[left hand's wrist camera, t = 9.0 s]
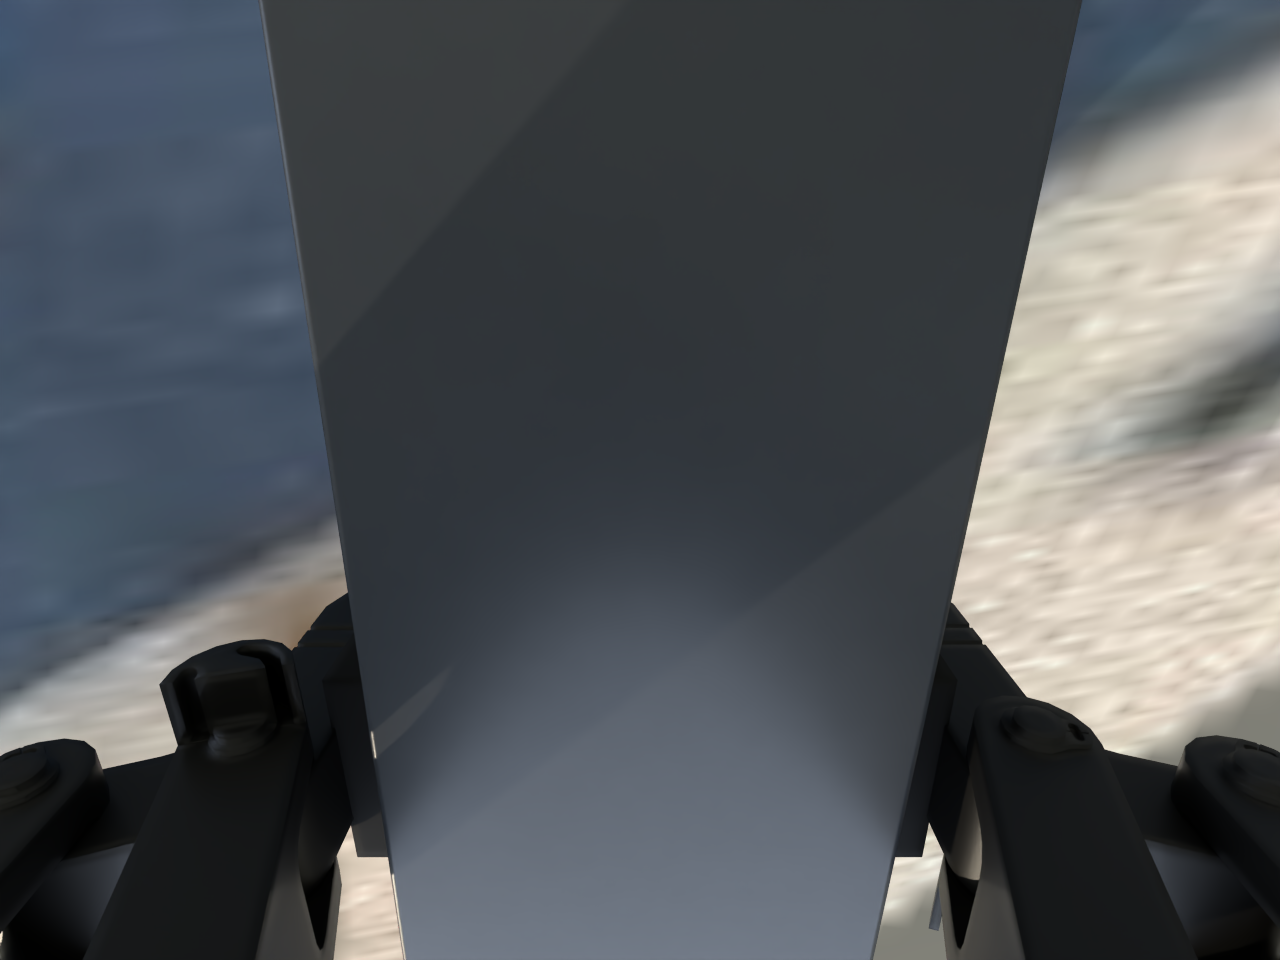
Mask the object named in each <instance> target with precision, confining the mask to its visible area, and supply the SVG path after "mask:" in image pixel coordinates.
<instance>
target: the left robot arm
mask: <svg viewBox="0 0 1280 960" xmlns="http://www.w3.org/2000/svg"><path fill="white" fill-rule="evenodd" d="M160 689H161V692H162V695H163V698H164V702H165V705H166V708H167V711H168V715H169V718H170V721H171V724H172V728H173V731H174V734H175V738H176V741H177V744H178V747H177V749H176V751H175V753H172V754H168V755H165V756H161V757H157V758H152V759H148V760H143V761H139V762H134V763H129V764H125V765H120V766H116V767H111V768H106V769H102V767H101V764H100V761H99V759H98V756H97V753H96V750H95V749H94V748H93V747H91V746H90V745H89V744H87V743H86V742H85V741H80V740H72V739H58V740H51V741H45V742H38V743H35V744H31V745H27V746H24V747H23V748H18V749H15V750H12V751H10V752H7V753H5V754H3V755H2V756H0V960H333V959H334V950H335V941H336V932H337V923H338V914H339V905H340V896H341V887H342V883H341V876H340V869H339V865H338V860H337V854H338V852H339V849H340V847H341V845H342V843H343V841H344V839H345V837H346V834H347V832H348V830H349V828H350V826H351V827H352V832H353V837H354V842H355V847H356V852H357V857H388V853H387V847H386V840H385V833H384V827H383V820H382V814H381V807H380V800H379V794H378V787H377V780H376V774H375V767H374V761H373V754H372V747H371V741H370V734H369V728H368V721H367V714H366V708H365V701H364V695H363V688H362V681H361V675H360V668H359V662H358V655H357V648H356V642H355V635H354V629H353V622H352V615H351V609H350V602H349V595H348V593H346V594H345V595H343V596H342V597H340V598H339V599H337V600H336V601H334V602H333V603H331V604H330V605H328V606H326V608H325V609H324V610H323V611H322V613H321V614H320V615H319V617H318V618H317V619H316V620H315V622H314V623H313V624H312V626H311V630H308V631H307V632H306V633H305V635H304V636H303V637H302V638H301V640H300V641H299V642H298V647H294V649H293V650H292V651H291V650H290V649H289V648H287V647H286V646H285V645H284V644H282V643H280V642H275V641H270V640H265V639H259V640H241V641H237V642H233V643H228V644H224V645H220V646H216V647H214V648H211V649H209V650H207V651H204V652H202V653H200V654H197V655H195V656H192V657H191V658H189V659H188V660H186V661H185V662H183V663H182V664H180V665H179V666H177V667H176V668H174V669H173V670H172V671H171V672H170V673H169V674H168V675H167V676H166V678H165V679H164V680H163V681H162V682H161V683H160ZM929 823H930V825H931V827H932V830H933V832H934V834H935V836H936V838H937V840H938V842H939V844H940V847H941V849H942V851H943V853H944V855H943V860H942V865H941V869H940V874H939V879H938V883H937V888H936V892H935V897H934V902H933V906H932V911H931V917H930V924H929V929H933V930H937V931H938V930H939V926H940V922H941V917H942V921H943V930H944V939H945V947H946V957H947V960H1280V752H1278V751H1276V750H1274V749H1272V748H1269V747H1266V746H1264V745H1259V744H1257V743H1254V742H1250V741H1247V740H1243V739H1237V738H1231V737H1224V736H1217V735H1215V736H1207V737H1199V738H1195V739H1194V740H1193V741H1192V742H1190V743H1189V744H1188V745H1186V746H1185V749H1184V751H1183V754H1182V757H1181V760H1180V762H1179V765H1178V766H1174V765H1170V764H1165V763H1160V762H1156V761H1151V760H1146V759H1142V758H1137V757H1133V756H1128V755H1123V754H1119V753H1115V752H1112V751H1108V750H1105V749H1104V748H1103V745H1102V744H1101V742H1100V741H1099V740H1098V738H1097V737H1096V736H1095V734H1094V733H1093V731H1092V730H1091V729H1090V728H1089V727H1088V726H1086V725H1085V724H1084V723H1082V722H1081V721H1080V720H1078V719H1077V718H1076V717H1075V716H1073V715H1072V714H1070V713H1068V712H1066V711H1064V710H1062V709H1060V708H1058V707H1056V706H1053V705H1051V704H1049V703H1046V702H1042V701H1039V700H1035V699H1031V698H1028V697H1026V696H1025V694H1024V693H1023V692H1022V690H1021V689H1020V688H1019V687H1018V685H1017V684H1016V683H1015V682H1014V680H1013V679H1012V678H1011V676H1010V675H1009V674H1008V673H1007V671H1006V670H1005V669H1004V668H1003V666H1002V665H1001V664H1000V662H999V661H998V660H997V659H996V657H995V656H994V655H993V654H992V652H991V651H990V650H989V648H988V647H987V646H986V645H983V644H982V640H981V638H980V637H979V636H978V635H977V633H976V632H975V631H974V629H973V628H969V623H968V622H967V621H966V619H965V618H964V617H963V615H962V614H961V613H960V612H959V610H958V609H957V608H956V607H955V605H954V604H953V603H951V604H950V608H949V613H948V617H947V622H946V626H945V631H944V636H943V640H942V645H941V649H940V654H939V659H938V663H937V668H936V672H935V677H934V681H933V686H932V691H931V695H930V700H929V704H928V709H927V713H926V718H925V723H924V727H923V732H922V736H921V741H920V746H919V750H918V755H917V759H916V764H915V768H914V773H913V778H912V782H911V787H910V791H909V796H908V801H907V805H906V810H905V814H904V819H903V823H902V828H901V833H900V837H899V842H898V846H897V851H896V856H895V857H922V855H923V850H924V845H925V840H926V835H927V830H928V825H929Z"/></svg>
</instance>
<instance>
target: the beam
mask: <svg viewBox="0 0 1280 960" xmlns="http://www.w3.org/2000/svg"><path fill="white" fill-rule="evenodd" d="M258 1H259V7H260V14H261V21H262V27H263V34H264V40H265V47H266V54H267V60H268V67H269V74H270V80H271V87H272V93H273V100H274V107H275V113H276V120H277V126H278V133H279V140H280V146H281V153H282V159H283V166H284V173H285V179H286V186H287V192H288V199H289V206H290V212H291V219H292V225H293V232H294V239H295V245H296V252H297V259H298V265H299V272H300V278H301V285H302V292H303V298H304V305H305V311H306V318H307V325H308V331H309V338H310V344H311V351H312V358H313V364H314V371H315V377H316V384H317V391H318V397H319V404H320V410H321V417H322V424H323V430H324V437H325V444H326V450H327V457H328V463H329V470H330V477H331V483H332V490H333V496H334V503H335V510H336V516H337V523H338V529H339V536H340V543H341V549H342V556H343V562H344V569H345V576H346V582H347V589H348V595H349V602H350V609H351V615H352V622H353V629H354V635H355V642H356V648H357V655H358V662H359V668H360V675H361V681H362V688H363V695H364V701H365V708H366V714H367V721H368V728H369V734H370V741H371V747H372V754H373V761H374V767H375V774H376V780H377V787H378V794H379V800H380V807H381V814H382V820H383V827H384V833H385V840H386V847H387V853H388V860H389V866H390V873H391V880H392V886H393V893H394V899H395V906H396V913H397V919H398V926H399V932H400V939H401V946H402V952H403V959H404V960H873V956H874V952H875V947H876V943H877V938H878V933H879V929H880V924H881V920H882V915H883V910H884V906H885V901H886V897H887V892H888V888H889V883H890V878H891V874H892V869H893V865H894V860H895V856H896V851H897V846H898V842H899V837H900V833H901V828H902V823H903V819H904V814H905V810H906V805H907V801H908V796H909V791H910V787H911V782H912V778H913V773H914V768H915V764H916V759H917V755H918V750H919V746H920V741H921V736H922V732H923V727H924V723H925V718H926V713H927V709H928V704H929V700H930V695H931V691H932V686H933V681H934V677H935V672H936V668H937V663H938V659H939V654H940V649H941V645H942V640H943V636H944V631H945V626H946V622H947V617H948V613H949V608H950V604H951V599H952V594H953V590H954V585H955V581H956V576H957V571H958V567H959V562H960V558H961V553H962V549H963V544H964V539H965V535H966V530H967V526H968V521H969V517H970V512H971V507H972V503H973V498H974V494H975V489H976V484H977V480H978V475H979V471H980V466H981V462H982V457H983V452H984V448H985V443H986V439H987V434H988V429H989V425H990V420H991V416H992V411H993V407H994V402H995V397H996V393H997V388H998V384H999V379H1000V374H1001V370H1002V365H1003V361H1004V356H1005V352H1006V347H1007V342H1008V338H1009V333H1010V329H1011V324H1012V320H1013V315H1014V310H1015V306H1016V301H1017V297H1018V292H1019V287H1020V283H1021V278H1022V274H1023V269H1024V265H1025V260H1026V255H1027V251H1028V246H1029V242H1030V237H1031V232H1032V228H1033V223H1034V219H1035V214H1036V210H1037V205H1038V200H1039V196H1040V191H1041V187H1042V182H1043V178H1044V173H1045V168H1046V164H1047V159H1048V155H1049V150H1050V145H1051V141H1052V136H1053V132H1054V127H1055V123H1056V118H1057V113H1058V109H1059V104H1060V100H1061V95H1062V90H1063V86H1064V81H1065V77H1066V72H1067V68H1068V63H1069V58H1070V54H1071V49H1072V45H1073V40H1074V35H1075V31H1076V26H1077V22H1078V17H1079V13H1080V8H1081V3H1082V0H258Z"/></svg>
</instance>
